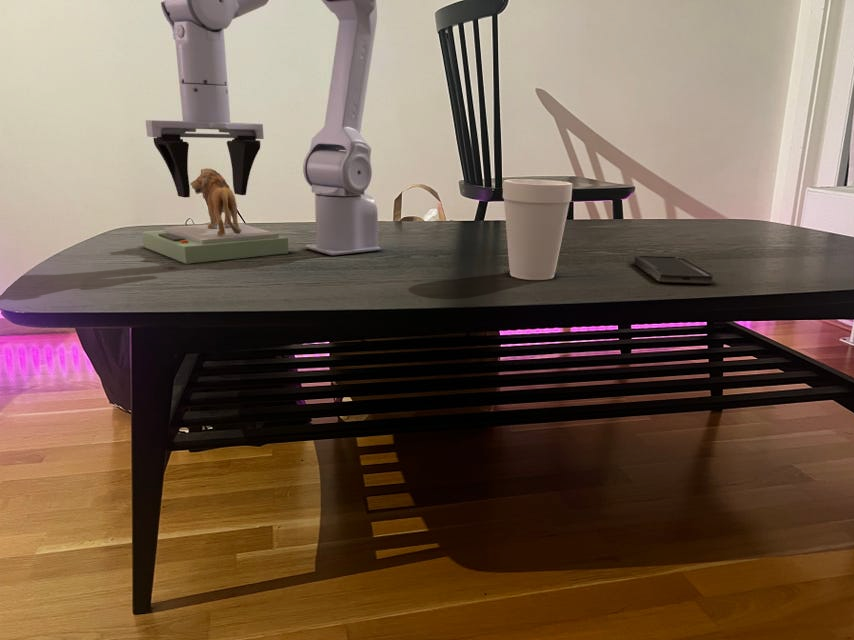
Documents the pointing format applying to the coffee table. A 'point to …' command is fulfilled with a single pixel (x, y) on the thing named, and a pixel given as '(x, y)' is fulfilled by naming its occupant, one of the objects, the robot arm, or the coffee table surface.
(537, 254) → the foam cup
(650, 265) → the phone
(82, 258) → the coffee table surface
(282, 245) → the kitchen scale
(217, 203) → the lion figurine
